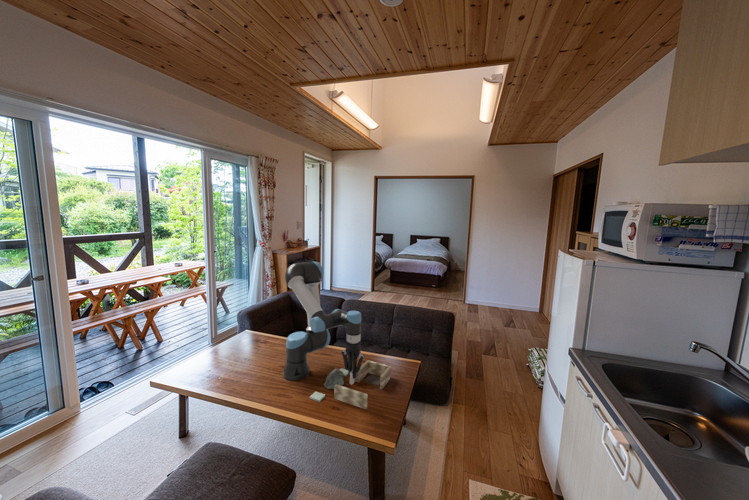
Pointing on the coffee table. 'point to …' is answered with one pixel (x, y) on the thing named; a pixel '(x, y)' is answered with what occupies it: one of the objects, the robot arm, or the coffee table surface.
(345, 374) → the pad
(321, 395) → the pad
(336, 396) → the wooden wall enclosure
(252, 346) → the coffee table surface
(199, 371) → the coffee table surface
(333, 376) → the stone
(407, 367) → the coffee table surface
